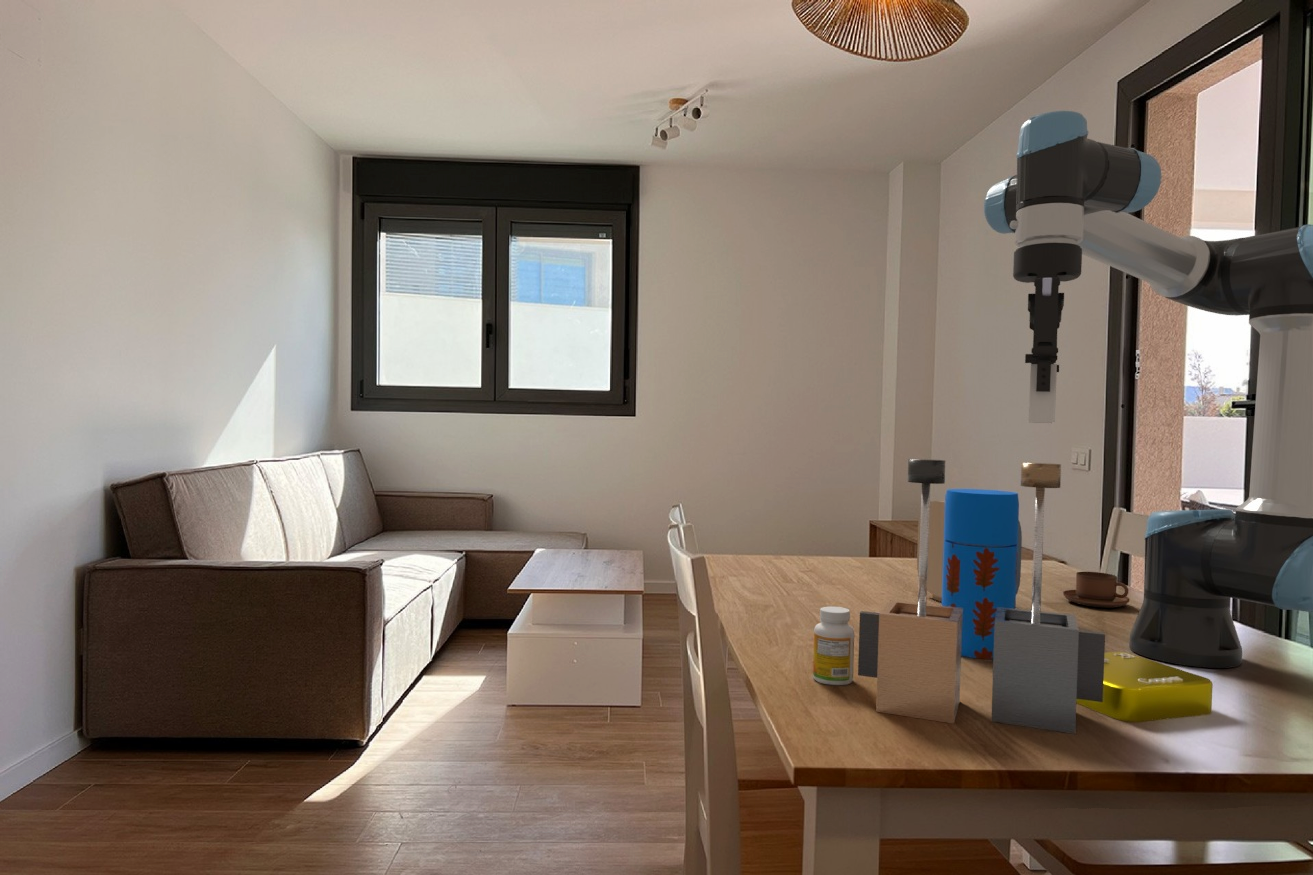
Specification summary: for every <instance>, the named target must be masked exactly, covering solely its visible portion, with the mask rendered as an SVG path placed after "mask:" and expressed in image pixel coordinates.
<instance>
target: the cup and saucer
mask: <svg viewBox="0 0 1313 875" xmlns="http://www.w3.org/2000/svg"><path fill="white" fill-rule="evenodd" d="M1075 574H1076V576H1075V577H1076V579H1075V581H1076V582H1075V584H1076V586H1075V589H1068V590H1065V591H1063V592H1062V593H1063V594H1062V595H1063V596H1064V598H1066V600H1068V601H1070V602H1072V603H1075V604H1078V605H1082V606H1086V607H1090V608H1091V607H1092V608H1093V607H1094V608H1103V609H1104V608H1105V609H1107V608H1108V609H1109V608H1110V609H1111V608H1120V607H1123V606H1126V605H1127V604H1128V603H1130V598H1129V597H1128V595H1129V588H1128V586H1127V585H1126V584H1125V583H1123V582H1118V575H1115V574H1112V573H1105V572H1098V571H1077V572H1076V573H1075ZM1117 587H1122V588H1123V589H1124V593H1123V594H1119V593H1117Z"/></svg>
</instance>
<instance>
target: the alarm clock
mask: <svg viewBox="0 0 1313 875" xmlns="http://www.w3.org/2000/svg"><path fill="white" fill-rule="evenodd" d="M945 498H946V493H945V494H944V499H945ZM944 517H945V500H933V501H931V500H930V506H929V537H928V568H927V593H929V594H931V595H932V600H936V601H937V602H941V603H942V579H943V548H944V540H945V539H944ZM917 523H918V524H917V546H916V547H917V548H916V550H917V551H916V552H917V554H916V570H917V577H918V578H919V554H920V523H921V510H920V511H919V517H918V522H917ZM1022 533H1023V532H1022V527H1021V522H1020V520H1019V519H1018V543H1017V545H1018V549H1017V578H1016V595H1018V592H1019V590H1020V585H1021V571H1022V568H1021V567H1022V547H1023V546H1022V545H1023V544H1022V543H1023V538H1022V536H1023V534H1022Z"/></svg>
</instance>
